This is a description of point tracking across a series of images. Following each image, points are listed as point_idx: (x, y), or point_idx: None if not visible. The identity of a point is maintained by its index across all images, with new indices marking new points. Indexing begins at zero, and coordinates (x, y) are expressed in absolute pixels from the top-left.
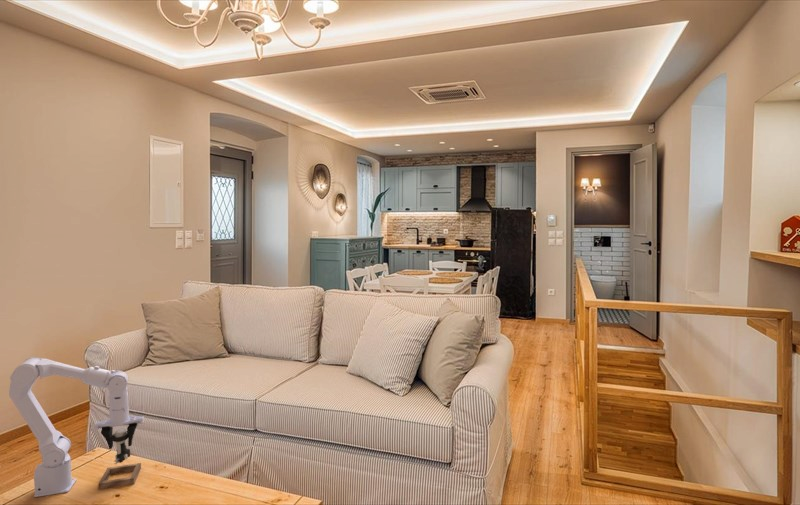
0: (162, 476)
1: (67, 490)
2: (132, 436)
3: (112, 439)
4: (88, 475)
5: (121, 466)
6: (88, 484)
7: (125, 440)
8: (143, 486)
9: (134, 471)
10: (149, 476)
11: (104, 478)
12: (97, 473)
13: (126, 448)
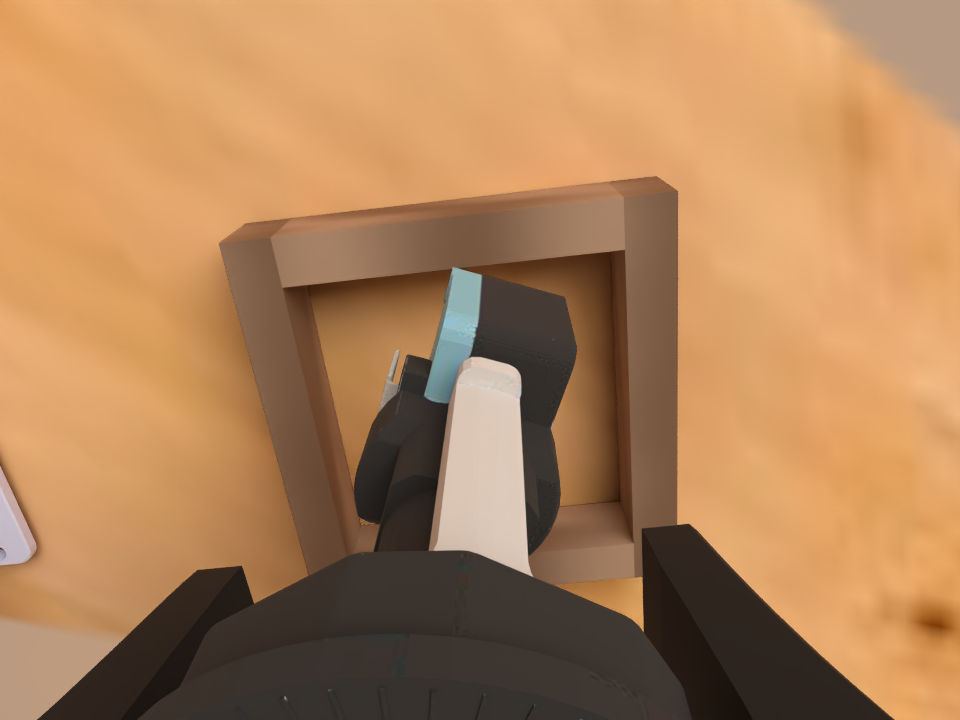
0: (938, 440)
1: (20, 557)
2: (796, 676)
3: (151, 705)
4: (8, 219)
5: (417, 246)
6: (157, 439)
7: (522, 532)
8: (759, 584)
9: (645, 428)
10: (795, 410)
11: (330, 514)
12: (101, 188)
13: (553, 495)
